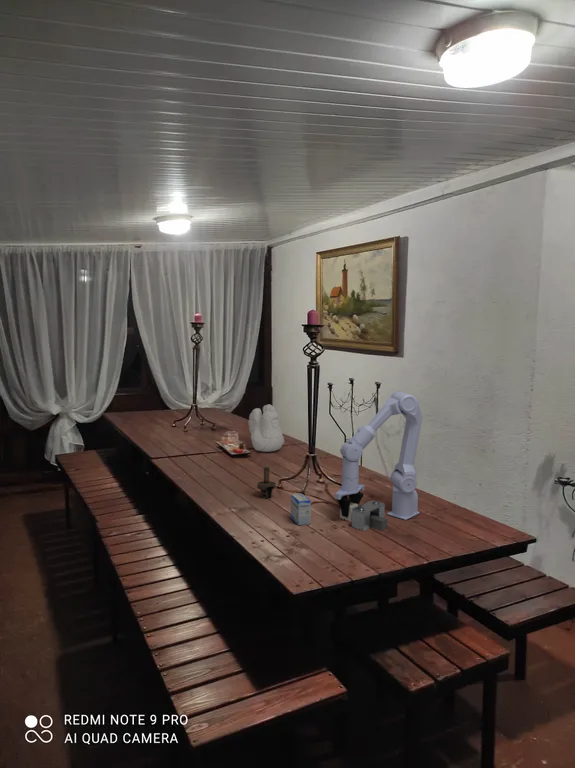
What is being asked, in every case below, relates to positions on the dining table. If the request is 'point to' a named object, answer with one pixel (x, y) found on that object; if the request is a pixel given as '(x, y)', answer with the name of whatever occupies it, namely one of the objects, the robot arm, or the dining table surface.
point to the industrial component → (266, 485)
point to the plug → (375, 520)
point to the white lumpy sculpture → (265, 429)
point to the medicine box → (300, 509)
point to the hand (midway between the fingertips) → (349, 514)
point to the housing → (366, 514)
